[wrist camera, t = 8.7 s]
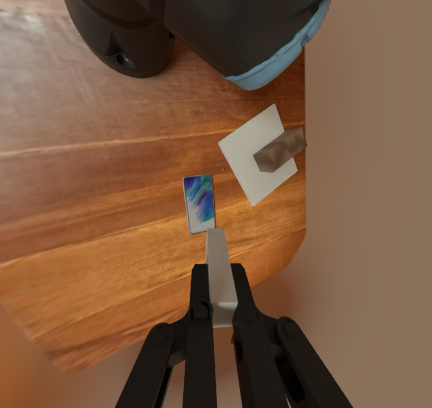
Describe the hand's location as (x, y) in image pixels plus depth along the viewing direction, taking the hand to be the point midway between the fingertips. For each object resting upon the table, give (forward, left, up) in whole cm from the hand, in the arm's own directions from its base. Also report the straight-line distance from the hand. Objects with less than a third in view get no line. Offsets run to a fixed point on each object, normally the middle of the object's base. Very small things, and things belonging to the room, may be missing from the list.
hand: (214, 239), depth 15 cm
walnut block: (+6, +21, -21) cm, 30 cm away
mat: (+6, +23, -24) cm, 34 cm away
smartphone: (+6, +2, -24) cm, 25 cm away
